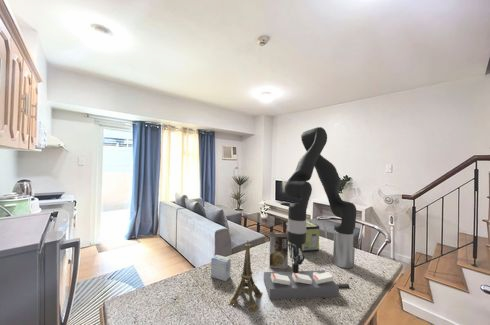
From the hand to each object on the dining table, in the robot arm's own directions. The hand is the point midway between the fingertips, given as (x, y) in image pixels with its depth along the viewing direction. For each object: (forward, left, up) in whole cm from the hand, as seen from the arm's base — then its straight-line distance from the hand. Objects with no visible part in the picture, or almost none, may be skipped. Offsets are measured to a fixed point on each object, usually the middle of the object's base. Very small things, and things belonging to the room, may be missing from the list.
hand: (295, 272), depth 83 cm
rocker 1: (+6, 0, -3) cm, 7 cm away
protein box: (-20, -40, -9) cm, 46 cm away
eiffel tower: (+20, +3, -9) cm, 22 cm away
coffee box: (+1, -22, -9) cm, 23 cm away
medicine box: (+30, -13, -9) cm, 34 cm away
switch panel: (-7, -2, -8) cm, 11 cm away
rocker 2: (-3, 0, -3) cm, 4 cm away
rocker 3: (-12, 0, -3) cm, 12 cm away
